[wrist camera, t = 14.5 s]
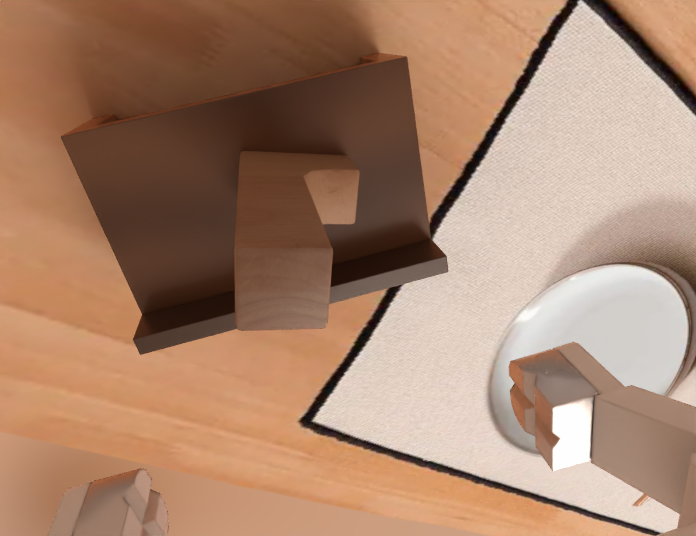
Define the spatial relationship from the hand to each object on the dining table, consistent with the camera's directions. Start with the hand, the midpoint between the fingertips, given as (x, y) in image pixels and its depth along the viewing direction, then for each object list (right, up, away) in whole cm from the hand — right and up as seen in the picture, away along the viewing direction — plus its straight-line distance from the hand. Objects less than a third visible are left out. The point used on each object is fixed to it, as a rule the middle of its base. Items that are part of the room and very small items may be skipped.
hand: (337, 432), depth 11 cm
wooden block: (-3, +9, +20) cm, 22 cm away
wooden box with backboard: (-6, +10, +26) cm, 28 cm away
